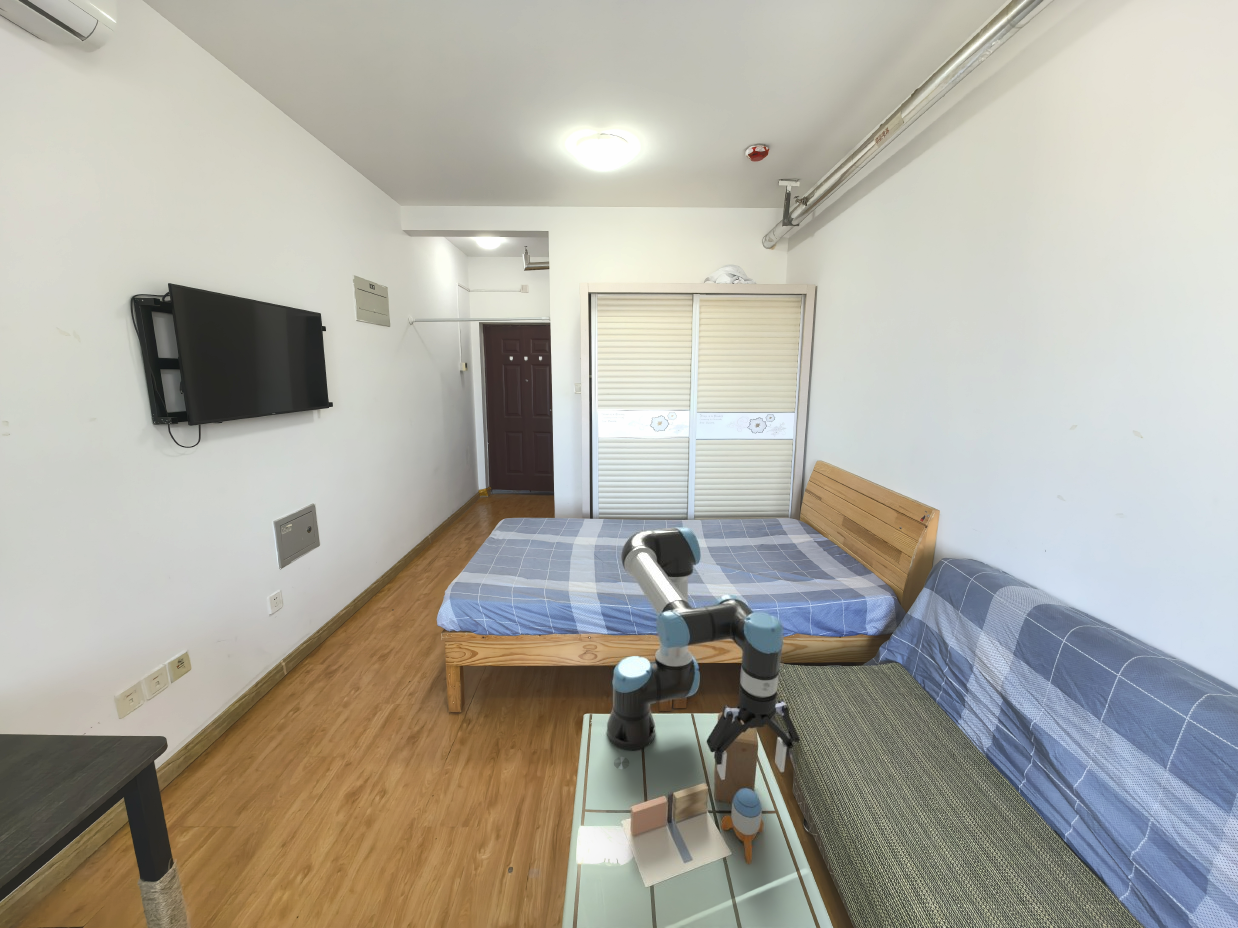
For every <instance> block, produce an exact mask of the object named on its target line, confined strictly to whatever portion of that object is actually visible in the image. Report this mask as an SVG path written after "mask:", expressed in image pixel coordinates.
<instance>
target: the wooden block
mask: <svg viewBox="0 0 1238 928" xmlns="http://www.w3.org/2000/svg"><path fill="white" fill-rule="evenodd" d="M722 713H723V711H721V712H719V713H718V715H717V722H718V721H719V719H720V717H721V715H722ZM732 722H733V721H732ZM741 723H742V725H743V724H744V723H743V721H742V720H741ZM725 751H726V753H727V758H726V770H725V779H724V780H721V777H720V775H719V773H718V770H717V763H716V761H715V760H714V770H713V771H714V773H713V781H714V782H713V783H714V784H713V787H714V788H713V790H714V791H713V794H714V796H713V797H714V798H715V799H714V800H715V801H717V802H721V803H727V804H731V805H732V803H733V799H734V796H735V794H736V793H737V792H738V791H739V790H740V789H742V788H748V789H751V790H753V791H754V792H755V789H756V776H757V765H758V754H759V753H758V752H759V739H758V729H757V727H755V728H748V729H747V730H746V732H742V733H741V734H740V735H739V736H738V737H737V738H736V739H735V740H734V741H733V742H732V744H731V745H730V746H729V747H728V748H727V749H726V750H725Z"/></svg>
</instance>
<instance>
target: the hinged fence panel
mask: <svg viewBox="0 0 1238 928" xmlns="http://www.w3.org/2000/svg"><path fill="white" fill-rule="evenodd" d="M667 806H668V798H666V796H665V795H663V796H660V797H656V798H653V799H650V800H647V801H643V802H641V803H638V804H634V805H632V806H630V818H631V828H630V830H631V833H632V835H633V836H634V835H637V834H640V833H643V832H646V831H649V830H652V829H655V828H658V827H660V826H663V825H666V824H667Z"/></svg>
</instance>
